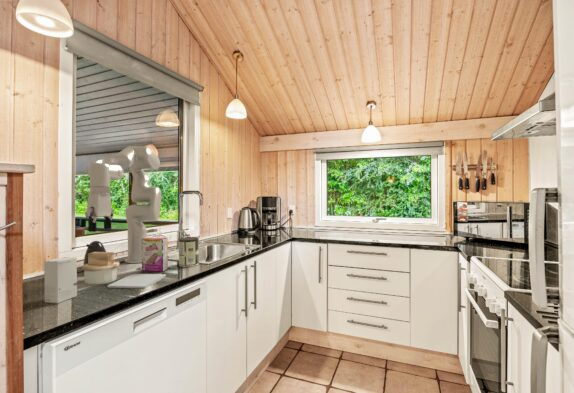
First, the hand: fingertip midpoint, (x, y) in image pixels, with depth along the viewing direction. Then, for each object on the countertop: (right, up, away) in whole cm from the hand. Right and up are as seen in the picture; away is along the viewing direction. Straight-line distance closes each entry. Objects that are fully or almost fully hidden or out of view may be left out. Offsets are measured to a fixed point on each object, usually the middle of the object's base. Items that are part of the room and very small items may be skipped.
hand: (100, 230), depth 134 cm
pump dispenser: (-11, -22, +15) cm, 29 cm away
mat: (+17, -22, 0) cm, 28 cm away
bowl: (0, -22, +1) cm, 22 cm away
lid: (0, -17, +1) cm, 17 cm away
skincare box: (-1, -23, -22) cm, 32 cm away
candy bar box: (+16, -22, +18) cm, 33 cm away
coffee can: (+29, -22, +30) cm, 47 cm away
